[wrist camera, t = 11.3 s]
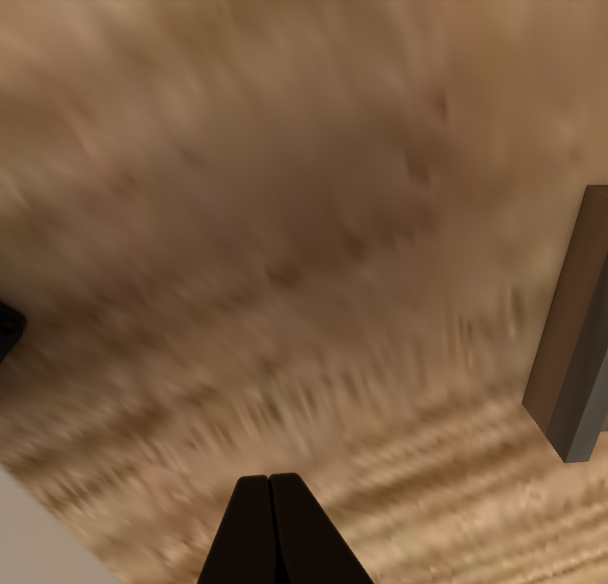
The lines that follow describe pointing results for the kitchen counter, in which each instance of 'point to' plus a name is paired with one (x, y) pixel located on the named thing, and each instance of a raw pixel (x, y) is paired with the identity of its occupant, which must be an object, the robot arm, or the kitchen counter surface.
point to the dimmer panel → (576, 341)
